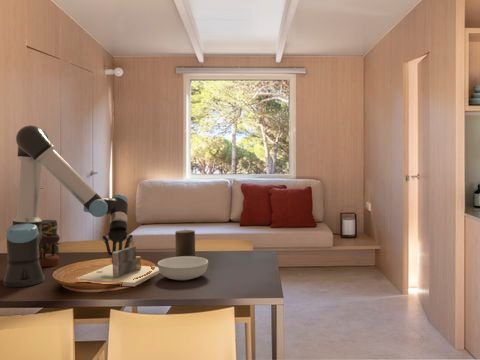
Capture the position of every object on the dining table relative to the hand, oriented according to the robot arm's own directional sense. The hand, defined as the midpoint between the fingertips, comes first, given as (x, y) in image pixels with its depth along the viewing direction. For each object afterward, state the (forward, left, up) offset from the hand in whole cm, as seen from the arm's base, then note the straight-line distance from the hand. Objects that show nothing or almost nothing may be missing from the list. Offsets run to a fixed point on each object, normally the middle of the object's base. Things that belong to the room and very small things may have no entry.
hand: (116, 269), depth 189 cm
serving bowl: (+8, -27, -4) cm, 28 cm away
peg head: (+4, -3, -2) cm, 5 cm away
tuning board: (+4, 0, -4) cm, 6 cm away
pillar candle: (+42, -13, -4) cm, 44 cm away
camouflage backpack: (+36, +64, -4) cm, 74 cm away
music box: (+16, +47, -4) cm, 50 cm away
